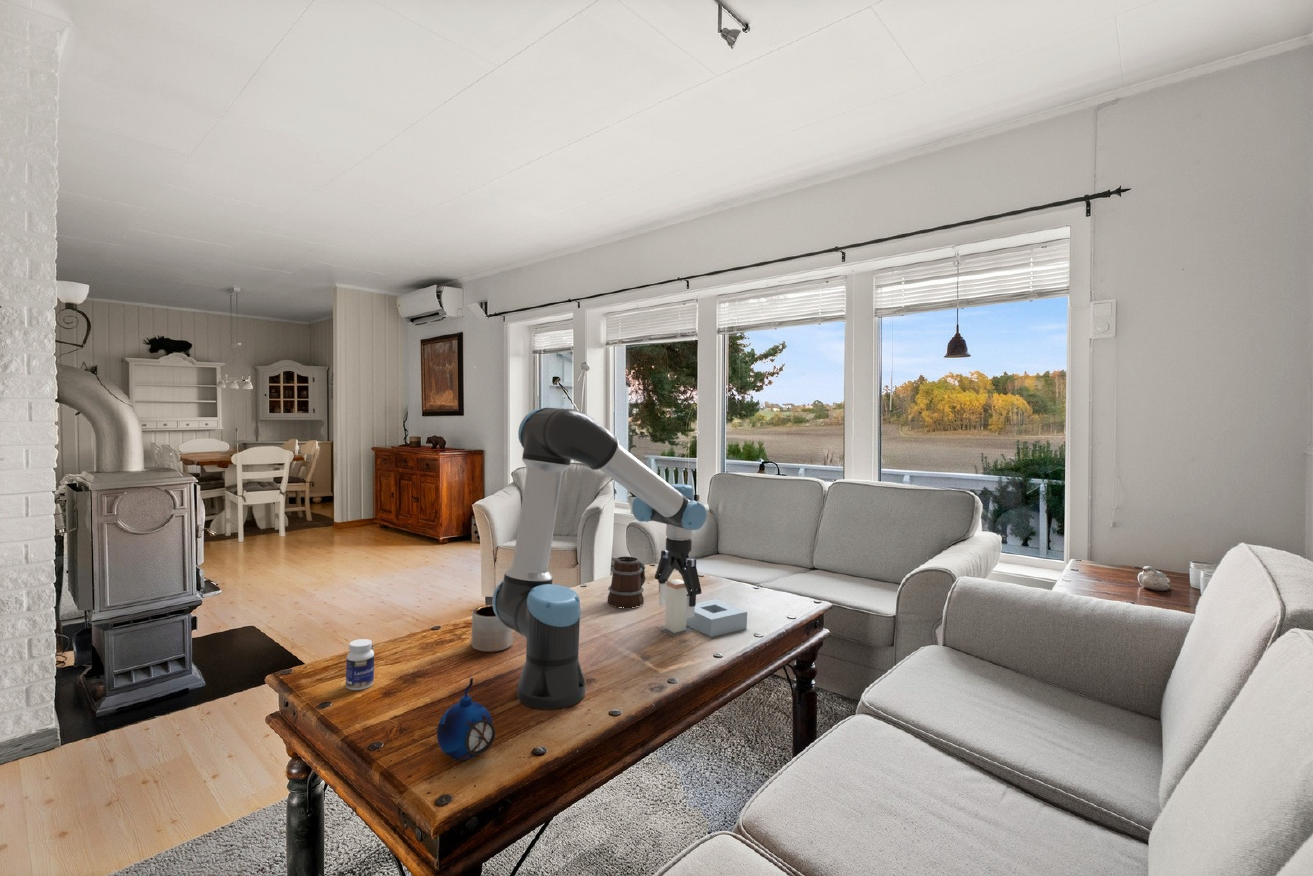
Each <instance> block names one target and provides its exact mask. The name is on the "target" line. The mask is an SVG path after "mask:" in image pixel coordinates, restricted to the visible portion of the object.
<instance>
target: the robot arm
mask: <svg viewBox="0 0 1313 876" xmlns="http://www.w3.org/2000/svg"><path fill="white" fill-rule="evenodd" d="M517 434H518V440H519V443H520V444H521V447H522V448H523V452H522V457H521V459H522V462H523V463H524V465H525V466H526V468H527V469H526V475H525V481H524V487H523V493H522V501H521V507H520V514H519V519H518V520H519V521H518V526H517V534H516V539H515V540H516V541H515V546H514V553H513V559H512V565H511V566H510V567H509V568H507V569H506V570H504V574H503V579H502V580H501V582H500V583H499V584H498V585H497V586H496V588H495V590H494V591H493V594H492V600H491V603H492V604H491V605H493V610H494V613H495V615H496V616H497V618H498V619H499V620H500V621H501V622H502V623H503V624H504V625H505V626H507V627H509V628H511V629H513V631H515V632H516V633H518V634H520V635H521V636H523V637H525V639H526V646H525V647H526V649H525V651H526V653H525V655H526V656H525V663H524V665H523V669H522V671H521V674H520V677H519V680H518V683H517V687H516V688H517V689H516V690H517V691H516V697H517V700H518V701H519V702H520V703H521V704H523V706H524V705H525V706H527V707H530V708H533V709H538V710H539V709H540V710H557V709H558V710H559V709H564V708H567V707H571V706H573V705H575V704H577V703H579V702H580V701H582V700H583V698H584V697H585V696H586V681H585V678H584V674H583V670H582V667H581V663H580V661H579V654H580V653H579V649H580V648H579V647H580V645H579V644H580V620H581V619H580V618H581V613H582V611H581V603H580V602H581V601H580V596H579V595H578V593H577V592H576V591H575V590H573V589H571V588H569V587H568V586H565V585H559V584H553V581H554V579H553V578H554V576H553V575H552V573H551V572H550V571H549V566H550V565H549V564H550V558H551V551H552V544H553V537H554V531H555V525H556V518H557V510H558V505H559V498H560V491H561V484H562V479H563V473H564V472H565V471H566V470H567V469H568V468H570V467H571V461H572V460H573V461H575V462H578V463H581V464H583V465H585V466H586V467H587V468H590V469H591V470H593V471H601V472H602V473H604V474H605V475H606V476H608V477H609V478H610V479H612V480H613V481H614V482H616V483H618V484H619V485H620V486H622V487H623V488H624V489H625V490H627V491H629V493H631V494H633V495H634V496H635V497H634V499H633V500H632V508H631V510H632V515H633V517H634V519H635V520H637V521H638V522H646V523H649V522H656V523H661V524H665V526H666V527H665V528H666V529H665V535H666V538H665V549H663V550H660V559H659V562H658V565H657V568H656V571H655V574H654V579H655V580H657V582H658V583H659V584H658V586H659V587H658V593H659V596H658V597H659V600H658V606H666V589H667V581H669V578H670V577H671V575H672V573H673V571H674V570H675V571H678V573H679V575H681V578H682V581H684V584H685V586H686V589H687V592H688V593H687V595H686V611H685V618H690V617H694V612H695V605H696V603H697V602H696V601H697V595H701V594H702V593H703V592H702V587H701V582H700V578H699V573H698V569H697V559H696V558H690V556H689V553H690V552H692V547H693V546H692V545H693V544H692V543H693V540H692V538H691V537H693V531H697V530H700V529H701V528H703V527H704V524H705V523H706V520H707V508H706V507H705V505H704V504H703V503H702V502H699V501H696V500H695V499H694V488H693V486H692V485H690V484H683V483H672V484H670V483H668V482H667V481H666V480H665V479H663V478H662V477H661V476H659V475H658V474H657V473H656V472H655V471H653V470H652V469H651V468H649V467H648V466H647V465H646V464H644V462H642V461H640V460H639V459H638V458H637V457H635V456H634V455H633V454H632V453H630V451H628V450H627V449H625V448H624V447H623V446H622V445H621V444H619V438H618V437H617V436H616V434H613V433H612V432H611V431H610V430H608V429H607V428H606V427H605V426H604V425H602V424H601V423H600V422H599V421H597V420H595V419H594V418H592V417H591V416H590V415H588V414H586V412H585V413H584V412H582V411H580V410H577V409H575V408H559V407H557V408H556V407H542V408H536V409H534V410H531V411H530V412H529V413H528V414H526V415H525V416H524V417H523V418H522V420H521V422H520V424H519V427H518V432H517Z"/></svg>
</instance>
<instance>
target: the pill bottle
mask: <svg viewBox="0 0 1313 876" xmlns="http://www.w3.org/2000/svg"><path fill="white" fill-rule="evenodd" d="M372 647H373V641H372V640H371V639H369V638H368V639H367V638H359V639H355V640H352V641H350V642H349V644H348V650H349V652H347V655H346V661H345V662H346V664H345V666H346V667H345V669H346V670H345V687H346V689H348V690H351V691H362V690H365V689H368V688H370V687H371V686H373V685H374V682H375V681H374V678H375V652H374V650H373V649H372Z"/></svg>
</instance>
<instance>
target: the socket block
mask: <svg viewBox="0 0 1313 876" xmlns="http://www.w3.org/2000/svg"><path fill="white" fill-rule="evenodd" d="M747 626H748V611H747V610H744V609H742V608H740V607H737V606H734V605H732V604H729V603H727V602H725V601H722V600H720V599H716V598H715V599H710V600H704V601H700V602H696V605H695V612H694V617H690V618H687V619H686V627H688V628H689V627H690V629H692V630H694V631H695V630H696V631H697V632H700V633H702V634H704V635H706V636H708V637H710V638H711V637H712V638H713V637H716V636H721V635H725V634H730V633H734V632H738V631H742V630H746V628H747V629H748V627H747Z"/></svg>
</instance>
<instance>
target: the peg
mask: <svg viewBox="0 0 1313 876" xmlns="http://www.w3.org/2000/svg"><path fill="white" fill-rule="evenodd" d="M666 583H667V589H666V605H665V615H664V616H665V617H664V620H665V621H664V626H665V628H666V629H668V630H670V631H671V632H673V633H676V632H680V631H685V630H686V627H687V625H686V619H687V618H685V611H686V595H687V594H688V592H687V589H686V586H685V584H684V581H683V579H680V578H679V579H669V580H668V581H667V582H666Z"/></svg>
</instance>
